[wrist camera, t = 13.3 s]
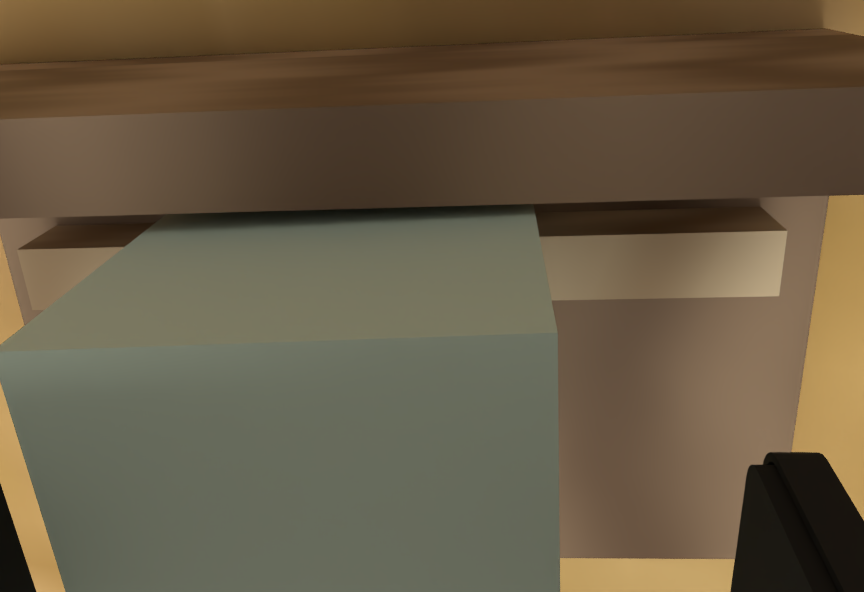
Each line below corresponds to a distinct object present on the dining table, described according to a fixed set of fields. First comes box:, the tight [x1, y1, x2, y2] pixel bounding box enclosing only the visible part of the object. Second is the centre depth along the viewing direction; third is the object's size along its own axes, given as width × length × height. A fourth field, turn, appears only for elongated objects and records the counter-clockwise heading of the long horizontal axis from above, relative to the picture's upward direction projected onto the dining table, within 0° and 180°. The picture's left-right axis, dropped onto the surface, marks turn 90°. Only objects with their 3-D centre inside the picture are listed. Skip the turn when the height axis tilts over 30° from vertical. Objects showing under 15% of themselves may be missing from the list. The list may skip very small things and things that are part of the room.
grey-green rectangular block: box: [0, 204, 560, 592], centre depth 15 cm, size 6×9×11 cm
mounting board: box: [0, 29, 864, 559], centre depth 18 cm, size 20×14×8 cm
